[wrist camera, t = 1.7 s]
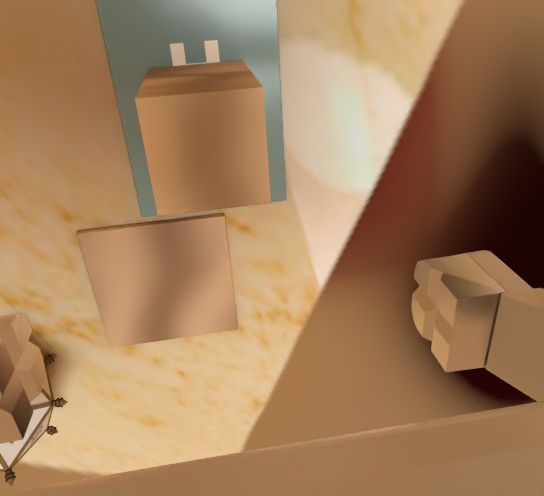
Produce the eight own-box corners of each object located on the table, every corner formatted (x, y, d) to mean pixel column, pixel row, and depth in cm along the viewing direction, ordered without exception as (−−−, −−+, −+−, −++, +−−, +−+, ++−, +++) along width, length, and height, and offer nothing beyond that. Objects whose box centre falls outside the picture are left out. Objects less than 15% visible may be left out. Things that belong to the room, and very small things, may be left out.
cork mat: (110, 344, 34) (109, 347, 33) (77, 231, 29) (76, 233, 29) (237, 325, 35) (237, 329, 34) (223, 213, 30) (224, 216, 30)
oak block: (165, 158, 28) (157, 216, 21) (149, 68, 25) (135, 98, 18) (250, 149, 28) (270, 202, 21) (242, 60, 26) (263, 87, 19)
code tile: (142, 215, 29) (142, 217, 29) (95, -4, 24) (94, -4, 23) (285, 198, 30) (286, 199, 30) (274, -17, 24) (275, -17, 24)
